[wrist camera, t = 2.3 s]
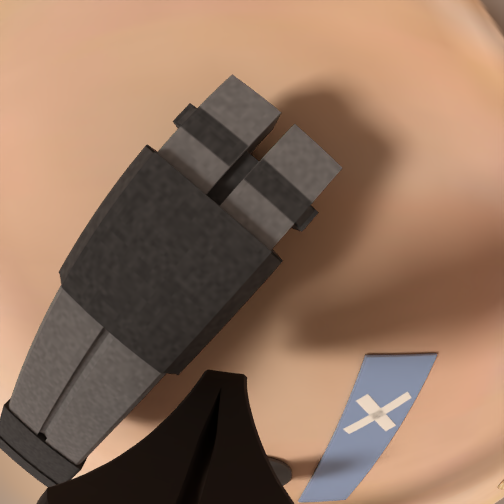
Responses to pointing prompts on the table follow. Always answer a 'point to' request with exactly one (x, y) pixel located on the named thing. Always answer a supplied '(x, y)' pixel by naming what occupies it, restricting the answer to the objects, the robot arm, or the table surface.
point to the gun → (160, 274)
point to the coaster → (281, 470)
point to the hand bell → (501, 485)
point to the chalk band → (368, 422)
